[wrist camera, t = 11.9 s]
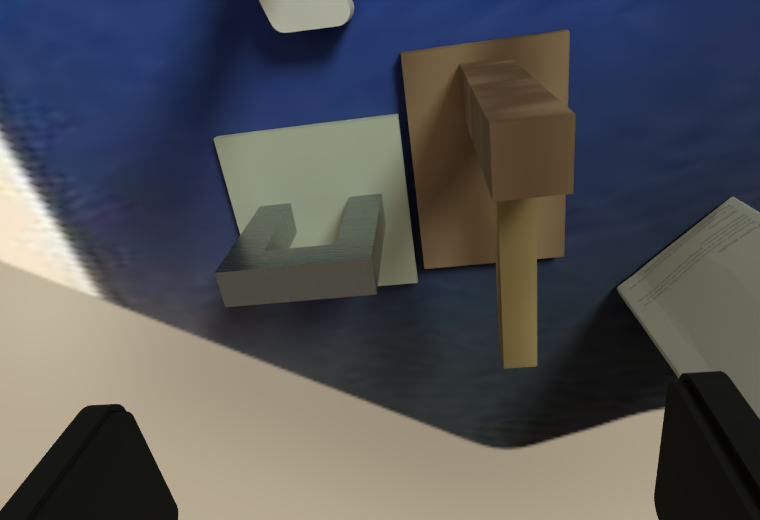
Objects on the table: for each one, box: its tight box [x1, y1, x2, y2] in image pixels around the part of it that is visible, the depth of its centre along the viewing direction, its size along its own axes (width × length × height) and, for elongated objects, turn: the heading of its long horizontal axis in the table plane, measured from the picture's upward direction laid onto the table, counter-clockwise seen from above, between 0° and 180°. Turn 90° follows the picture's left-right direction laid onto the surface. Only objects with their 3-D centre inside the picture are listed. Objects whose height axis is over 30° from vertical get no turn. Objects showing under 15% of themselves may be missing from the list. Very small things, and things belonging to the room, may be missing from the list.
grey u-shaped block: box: [215, 194, 386, 307], centre depth 27 cm, size 7×2×8 cm, turn 98°
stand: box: [401, 30, 576, 368], centre depth 24 cm, size 8×12×13 cm, turn 8°
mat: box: [214, 114, 418, 286], centre depth 31 cm, size 10×10×1 cm
